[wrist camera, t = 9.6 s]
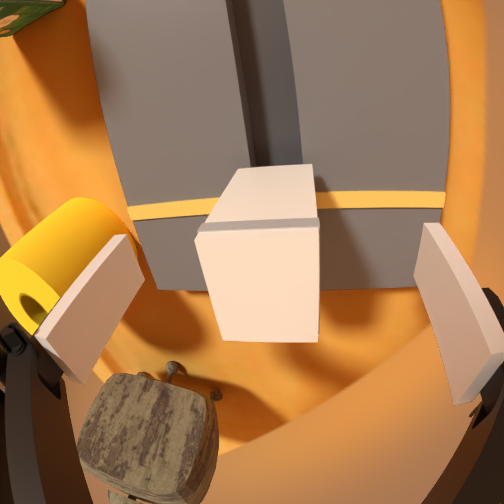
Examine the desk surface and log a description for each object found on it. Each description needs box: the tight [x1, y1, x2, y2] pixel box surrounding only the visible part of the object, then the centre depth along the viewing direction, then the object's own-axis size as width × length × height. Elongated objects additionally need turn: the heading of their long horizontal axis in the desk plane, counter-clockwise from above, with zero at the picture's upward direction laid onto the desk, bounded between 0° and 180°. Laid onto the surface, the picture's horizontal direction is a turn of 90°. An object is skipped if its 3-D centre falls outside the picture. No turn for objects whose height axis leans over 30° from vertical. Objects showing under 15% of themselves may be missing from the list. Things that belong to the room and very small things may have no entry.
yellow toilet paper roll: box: [0, 198, 138, 335], centre depth 22 cm, size 10×10×9 cm
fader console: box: [85, 0, 450, 291], centre depth 15 cm, size 26×21×3 cm
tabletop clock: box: [77, 361, 222, 504], centre depth 25 cm, size 14×9×25 cm, turn 87°
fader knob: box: [194, 164, 320, 342], centre depth 15 cm, size 5×4×10 cm
